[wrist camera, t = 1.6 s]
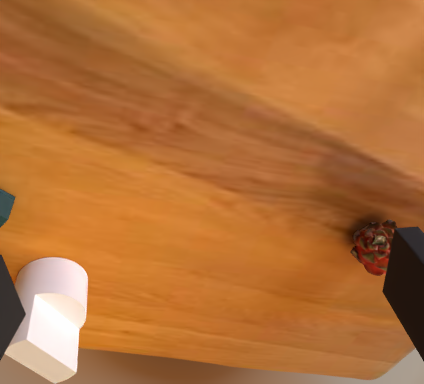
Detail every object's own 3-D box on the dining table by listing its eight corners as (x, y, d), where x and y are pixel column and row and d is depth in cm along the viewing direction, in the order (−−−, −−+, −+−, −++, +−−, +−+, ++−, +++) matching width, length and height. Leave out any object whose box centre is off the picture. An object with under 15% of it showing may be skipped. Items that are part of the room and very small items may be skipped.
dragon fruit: (341, 211, 59) (381, 226, 66) (331, 265, 58) (372, 274, 65) (395, 215, 52) (433, 232, 59) (385, 277, 51) (425, 286, 58)
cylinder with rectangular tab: (0, 277, 49) (-25, 363, 39) (60, 246, 48) (49, 325, 39) (46, 312, 54) (34, 395, 45) (101, 285, 54) (100, 362, 44)
